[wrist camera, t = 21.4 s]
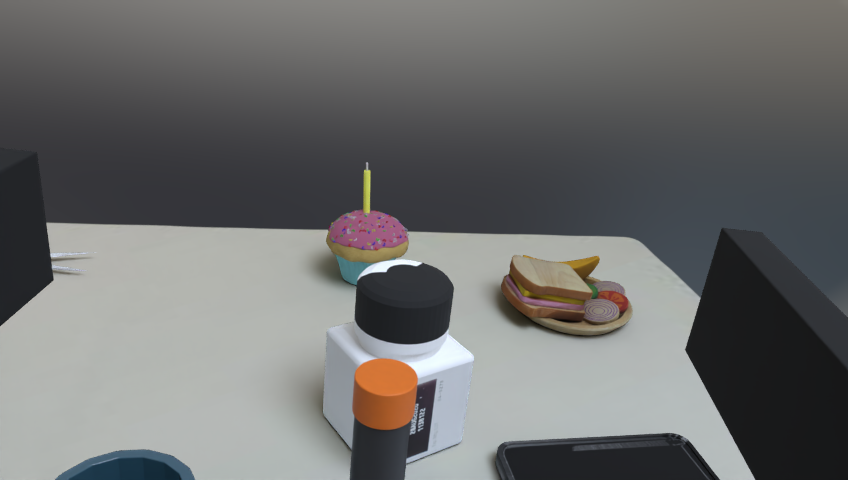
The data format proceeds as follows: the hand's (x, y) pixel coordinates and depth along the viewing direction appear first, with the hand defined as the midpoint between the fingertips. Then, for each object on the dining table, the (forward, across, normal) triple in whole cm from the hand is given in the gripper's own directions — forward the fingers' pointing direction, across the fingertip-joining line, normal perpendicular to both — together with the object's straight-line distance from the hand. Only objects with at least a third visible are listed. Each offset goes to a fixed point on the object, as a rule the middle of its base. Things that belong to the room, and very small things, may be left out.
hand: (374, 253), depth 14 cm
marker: (+10, 0, -28) cm, 29 cm away
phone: (+26, +16, -28) cm, 41 cm away
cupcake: (+54, -5, -29) cm, 61 cm away
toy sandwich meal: (+51, +16, -28) cm, 60 cm away
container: (+29, 0, -28) cm, 41 cm away
